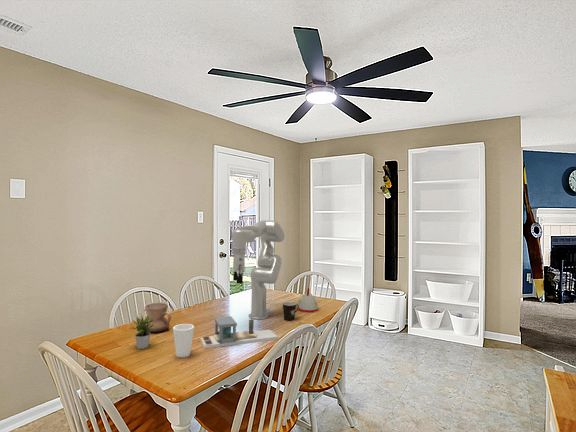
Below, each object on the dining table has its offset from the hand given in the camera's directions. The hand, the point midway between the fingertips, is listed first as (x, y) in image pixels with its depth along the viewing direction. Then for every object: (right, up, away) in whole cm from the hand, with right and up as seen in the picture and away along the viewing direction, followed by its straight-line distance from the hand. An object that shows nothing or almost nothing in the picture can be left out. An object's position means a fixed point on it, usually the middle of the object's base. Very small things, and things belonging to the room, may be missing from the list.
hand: (237, 281), depth 198 cm
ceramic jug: (-45, -27, -2) cm, 53 cm away
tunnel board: (+3, -28, -14) cm, 31 cm away
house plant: (-42, -27, -28) cm, 57 cm away
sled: (+1, -26, -15) cm, 30 cm away
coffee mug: (+31, -29, +24) cm, 48 cm away
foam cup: (-21, -28, -35) cm, 49 cm away
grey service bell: (+43, -29, +47) cm, 70 cm away
